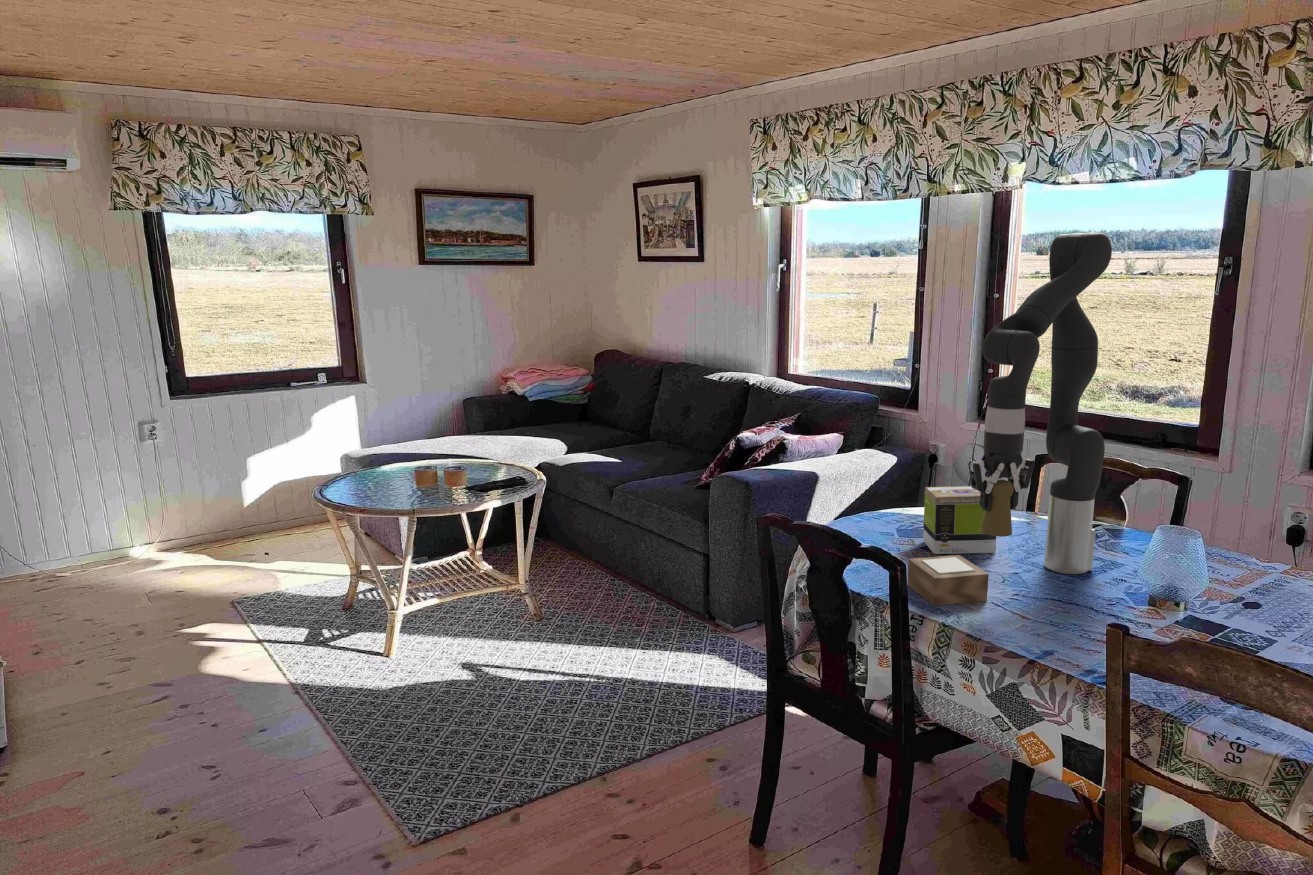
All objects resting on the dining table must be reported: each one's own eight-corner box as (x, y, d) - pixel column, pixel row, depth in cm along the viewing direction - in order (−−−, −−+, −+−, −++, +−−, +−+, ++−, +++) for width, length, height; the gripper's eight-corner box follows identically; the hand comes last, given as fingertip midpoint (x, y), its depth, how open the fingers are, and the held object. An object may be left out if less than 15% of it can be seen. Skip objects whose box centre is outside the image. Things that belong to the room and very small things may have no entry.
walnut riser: (957, 580, 195) (959, 553, 194) (986, 601, 184) (988, 572, 182) (907, 584, 193) (908, 557, 192) (933, 605, 182) (935, 577, 180)
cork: (1014, 537, 178) (1019, 484, 176) (983, 535, 180) (987, 483, 177) (1008, 528, 184) (1013, 477, 182) (978, 526, 185) (982, 476, 183)
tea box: (981, 541, 221) (985, 484, 218) (995, 554, 211) (1000, 495, 208) (921, 541, 221) (924, 485, 218) (933, 555, 212) (936, 496, 208)
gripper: (1025, 423, 182) (1018, 502, 186) (962, 426, 180) (956, 506, 183) (1047, 430, 175) (1040, 512, 179) (982, 433, 172) (976, 516, 176)
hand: (998, 508), depth 181 cm, fingers closed on cork, 5 cm apart
